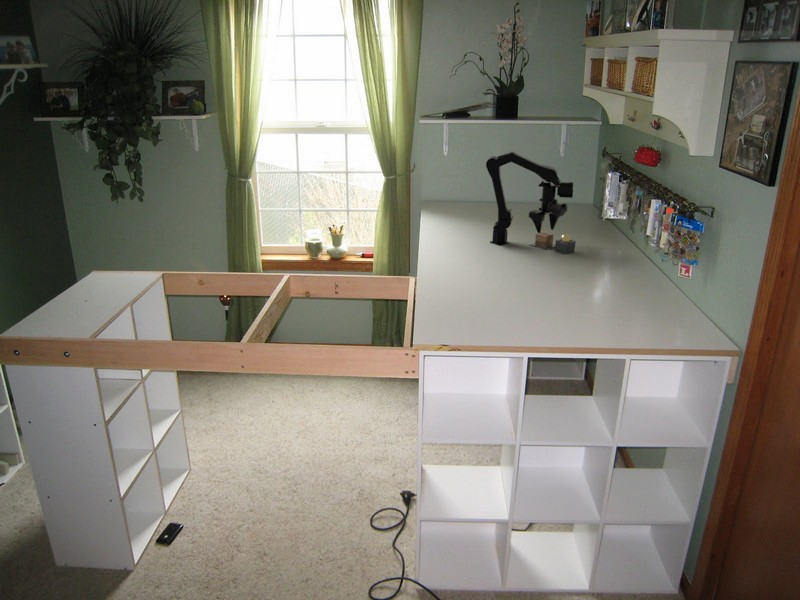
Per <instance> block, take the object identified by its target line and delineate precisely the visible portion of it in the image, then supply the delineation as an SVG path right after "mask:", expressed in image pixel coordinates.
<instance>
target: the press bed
mask: <svg viewBox="0 0 800 600" xmlns="http://www.w3.org/2000/svg"><path fill="white" fill-rule="evenodd" d="M555 244H556V243H555ZM555 244H554V243H553V245H552V246H548V247H541V246H538V245H535V242H534V243H531V244H529V246H530V247H533V248H537V249H540V250H544V251H547V250H551V249H553V248H554V249H555Z"/></svg>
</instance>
